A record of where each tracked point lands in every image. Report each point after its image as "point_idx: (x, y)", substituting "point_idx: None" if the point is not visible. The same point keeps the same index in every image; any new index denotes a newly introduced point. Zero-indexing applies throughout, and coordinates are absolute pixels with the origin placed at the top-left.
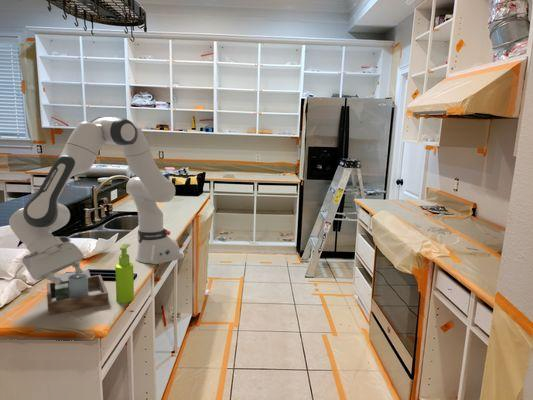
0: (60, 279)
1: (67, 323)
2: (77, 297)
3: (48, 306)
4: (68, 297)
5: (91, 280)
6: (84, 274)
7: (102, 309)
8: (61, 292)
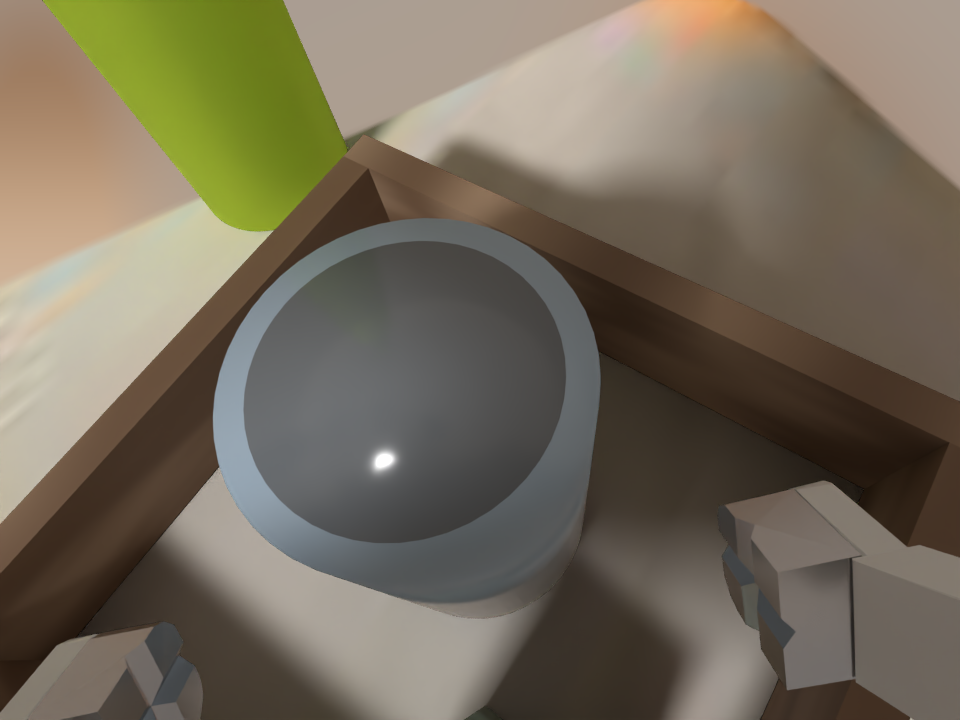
0: (774, 522)
1: (845, 191)
2: (627, 276)
3: None
4: (489, 710)
5: None
6: (267, 357)
7: (502, 175)
8: None
